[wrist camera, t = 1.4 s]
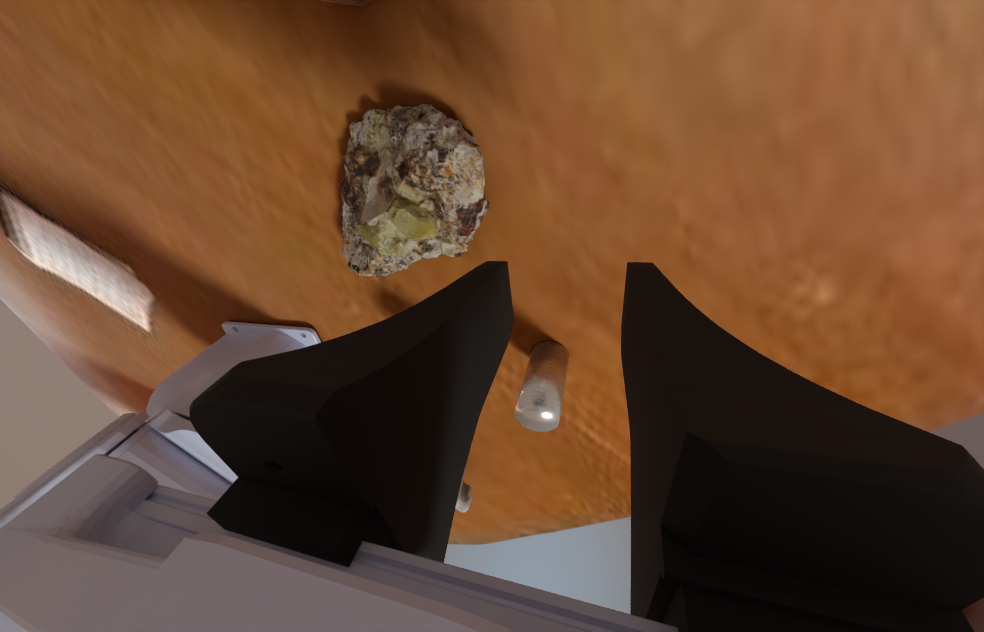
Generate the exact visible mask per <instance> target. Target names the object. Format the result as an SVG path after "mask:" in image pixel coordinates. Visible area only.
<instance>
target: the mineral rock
mask: <svg viewBox="0 0 984 632" xmlns="http://www.w3.org/2000/svg"><path fill="white" fill-rule="evenodd" d="M349 128H350V134H351V137H350V139H349V141H348V145H347V153H346V154H344V155H343V159H344V163H343V164H344V167H345V171H346V174H345V177H343V178H342V180H341V183H342V186H341V188H340V190H341V197H342V200H343V203H342V204H341V207H342V209H341V211H340V214H341V215H342V217H343V218H342V222H341V223H340V224H342V225H343V227H342V230H343V233H342V235H343V237H344V242H343V245H342V253H343V255H344V256H345V257H346V259H347V260H348V262H349V263H348V266H349V267H351V268H352V270H353V271H354V272H355V273H356V274H358V275H362V276H371V275H374V276H376V277H378V276H384V277H386V275H388V274H391V273H394V272H396V271H401V270H405V269H407V268H408V267H410V264H412V263H413V262H415V261H418V260H420V259H422V258H423V259H430V258H436V257H438V255H440V254H441V253H442V254H444V255H447V256H451V257H459V256H462V255H463V253H464V252H467V253H468V245H467V242H469V241H472V240H473V234H474V232H475V230H477V229H478V228H479V225H480V223H481V221H482V218H483V217H484V215H485V213H487V211H488V209H489V202H488V201H487V200H486V199H484V197H483V195H484V186H485V179H484V177H485V169H484V166H483V156H482V155H481V154H480V147H479V146H478V145H477V144H476V138H475V137H471V136H470V135H469V134H468V133H467V132H466V131H465V130H464V129H463V128H462V124H461V122H460V121H459V120H453V119H451V118H448V117H446V116H445V115H444V114H443V113H442V112H440V111H439V110H437V109H435V108H434V107H433V106H432V105H431V104H421V105H419V106H418V107H401V106H399V105H397V106H393V107H389V108H387V109H386V111H385V110H380V109H373V110H369V111H367V112H366V113H365V114H364V115H363V121H360V122H352V123H351V124H350V126H349Z"/></svg>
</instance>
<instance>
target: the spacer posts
mask: <svg viewBox="0 0 984 632" xmlns="http://www.w3.org/2000/svg"><path fill="white" fill-rule="evenodd" d="M322 1H328V2H334V3H341V4H347V5H353V6H363V5H366V4H368V3H369V2H370V1H371V0H322ZM568 361H569V354H568V352H567V350H566V349H565V348H564V347H563V346H562V345H560V344H559V343H556V342H553V341H542V342H539V343H537V344H536V345H535V346H534V347H533V348H532V351H531V355H530V358H529V362H528V366H527V369H526V373H525V376H524V380H523V384H522V387H521V391H520V394H519V398H518V402H517V405H516V409H515V417H516V419H517V421H518V422H519V423H520V424H521V425H523V426H524V427H526V428H528V429H530V430H533V431H537V432H548V431H551V430H554V429H555V428H556V427H557V426H558V424H559V420H560V413H561V407H562V400H563V394H564V387H565V380H566V374H567V367H568Z"/></svg>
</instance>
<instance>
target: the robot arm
mask: <svg viewBox="0 0 984 632" xmlns="http://www.w3.org/2000/svg"><path fill="white" fill-rule="evenodd" d="M513 320H514V315H513V307H512V298H511V289H510V281H509V272H508V263H507V261H487V262H485V263H483V264H481V265H479V266H478V267H476V268H474V269H473V270H471V271H470V272H468V273H467V274H465V275H464V276H462V277H461V278H459V279H457V280H456V281H454V282H453V283H451V284H450V285H448V286H447V287H445V288H443V289H442V290H440V291H438V292H437V293H435V294H433V295H432V296H430V297H428V298H426V299H425V300H423V301H421V302H420V303H418V304H416V305H414V306H412V307H411V308H409V309H407V310H405V311H403V312H401V313H398V314H396V315H394V316H392V317H390V318H388V319H385V320H383V321H381V322H378V323H376V324H373V325H371V326H368V327H365V328H363V329H360V330H357V331H355V332H352V333H350V334H347V335H344V336H341V337H338V338H335V339H331V340H328V341H325V342H322V343H321V341H320V339H319V337H318V335H317V333H316V332H315V331H314V330H313V329H312V328H306V327H293V326H280V325H267V324H254V323H241V322H228V321H227V322H224V323H223V324H222V328H223V330H224V331H225V332H226V335H224V336H223V337H221V338H220V339H219V340H217V341H216V342H215V343H213V344H212V345H211V346H209V347H208V348H206V349H205V350H204V351H202V352H201V353H200V354H198V355H197V356H196V357H194V358H193V359H192V360H190V361H189V362H187V363H186V364H185V365H183V366H182V367H181V368H179V369H178V370H177V371H175V372H174V373H172V374H171V375H170V376H168V377H167V378H166V379H165V380H164V381H162V382H161V383H160V384H159V385H158V387H157V388H156V389H155V391H154V392H153V394H152V396H151V397H150V400H149V402H148V405H147V409H146V413H145V412H143V411H141V412H138V413H137V414H135V413H128V414H123V415H122V416H120V417H119V418H118V419H116V420H115V421H114V422H112V423H111V424H109V425H108V426H107V427H105V428H104V429H103V430H101V431H100V432H98V433H97V434H96V435H94V436H93V437H92V438H90V439H89V440H88V441H86V442H85V443H84V444H82V445H81V446H80V447H78V448H77V449H76V450H74V451H73V452H72V453H70V454H69V455H68V456H66V457H65V458H64V459H62V460H61V461H60V462H58V463H57V464H56V465H54V466H53V467H52V468H51V469H49V470H48V471H46V472H45V473H44V474H42V475H41V476H40V477H38V478H37V479H36V480H34V481H33V482H32V483H31V484H29V485H28V486H27V487H25V488H24V489H23V490H21V491H20V492H19V493H18V494H16V495H15V496H14V500H13V501H11V502H10V503H9V504H8V505H6V506H5V507H3V508H2V509H1V510H0V632H974V630H973V629H972V627H971V626H970V624H969V622H968V621H967V619H966V617H965V616H964V614H963V612H962V611H961V610H962V609H964V608H966V607H968V606H969V605H971V604H973V603H975V602H976V601H978V600H980V599H982V598H983V597H984V469H983V468H982V467H981V466H980V465H979V464H978V462H977V461H976V460H975V459H974V458H973V457H972V456H971V455H970V454H969V453H968V451H967V450H966V449H965V448H964V447H963V446H961V445H959V444H956V443H954V442H951V441H949V440H946V439H944V438H942V437H939V436H937V435H934V434H932V433H929V432H927V431H924V430H922V429H919V428H917V427H914V426H912V425H909V424H907V423H904V422H902V421H899V420H897V419H894V418H892V417H889V416H887V415H884V414H882V413H879V412H877V411H874V410H872V409H869V408H867V407H865V406H863V405H860V404H858V403H856V402H854V401H852V400H849V399H847V398H845V397H843V396H841V395H839V394H837V393H834V392H832V391H830V390H828V389H826V388H824V387H821V386H819V385H817V384H815V383H813V382H811V381H809V380H807V379H805V378H803V377H802V376H800V375H798V374H796V373H794V372H792V371H790V370H788V369H786V368H785V367H783V366H781V365H779V364H778V363H776V362H774V361H772V360H770V359H769V358H767V357H765V356H763V355H762V354H760V353H758V352H757V351H755V350H753V349H752V348H750V347H749V346H747V345H745V344H744V343H743V342H741V341H740V340H738V339H737V338H735V337H734V336H732V335H731V334H729V333H728V332H726V331H725V330H723V329H722V328H721V327H719V326H718V325H717V324H715V323H714V322H713V321H712V320H710V319H709V318H708V317H707V316H706V315H704V314H703V313H702V312H701V311H700V310H698V309H697V308H696V307H695V306H694V305H693V304H692V303H690V302H689V301H688V300H687V299H686V298H685V297H684V296H683V295H682V294H681V293H680V292H679V291H678V290H677V289H676V288H675V287H674V286H673V285H672V284H671V283H670V281H669V280H668V279H667V278H666V277H665V276H664V275H663V274H662V273H661V271H660V270H659V269H658V268H657V267H656V266H655V265H654V264H653V263H642V262H627V272H626V282H625V293H624V303H623V314H622V324H621V357H622V366H623V375H624V383H625V391H626V399H627V408H628V416H629V425H630V441H631V615H630V614H627V613H623V612H619V611H616V610H612V609H609V608H605V607H601V606H598V605H594V604H590V603H586V602H583V601H580V600H576V599H572V598H569V597H565V596H561V595H558V594H554V593H550V592H547V591H543V590H540V589H536V588H532V587H529V586H525V585H521V584H518V583H514V582H511V581H507V580H503V579H500V578H496V577H493V576H489V575H485V574H482V573H478V572H474V571H471V570H467V569H464V568H459V567H456V566H452V565H449V564H445V563H444V558H445V553H446V549H447V544H448V539H449V535H450V530H451V525H452V520H453V516H454V512H455V507H456V503H457V499H458V495H459V490H460V486H461V482H462V478H463V474H464V470H465V466H466V462H467V459H468V455H469V451H470V447H471V443H472V440H473V436H474V433H475V429H476V426H477V422H478V419H479V416H480V413H481V410H482V407H483V404H484V402H485V399H486V397H487V394H488V392H489V390H490V387H491V385H492V382H493V380H494V377H495V375H496V372H497V370H498V368H499V365H500V363H501V360H502V358H503V355H504V353H505V350H506V347H507V345H508V341H509V337H510V333H511V329H512V324H513ZM146 420H147V422H145V421H146Z"/></svg>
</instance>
